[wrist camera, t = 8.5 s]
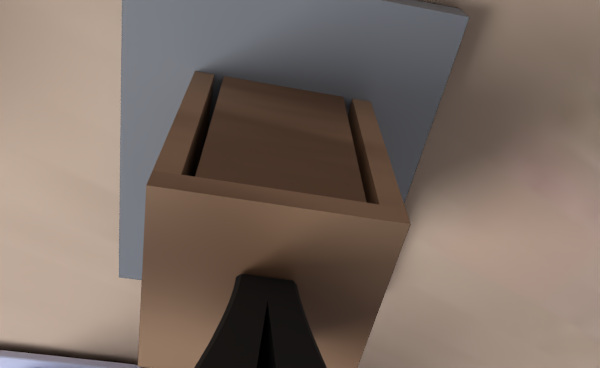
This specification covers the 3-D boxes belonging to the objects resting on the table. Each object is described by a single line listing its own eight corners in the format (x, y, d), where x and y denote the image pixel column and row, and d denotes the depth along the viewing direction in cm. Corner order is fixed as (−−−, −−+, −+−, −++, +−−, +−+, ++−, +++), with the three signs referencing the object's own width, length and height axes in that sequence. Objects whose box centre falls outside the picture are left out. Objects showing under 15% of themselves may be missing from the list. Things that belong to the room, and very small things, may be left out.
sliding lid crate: (332, 238, 20) (349, 389, 14) (181, 216, 19) (137, 366, 14) (370, 101, 17) (410, 224, 11) (194, 70, 16) (146, 185, 11)
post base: (364, 291, 23) (381, 392, 19) (125, 260, 22) (85, 360, 17) (460, 8, 17) (518, 63, 12) (131, -56, 15) (72, -19, 11)
